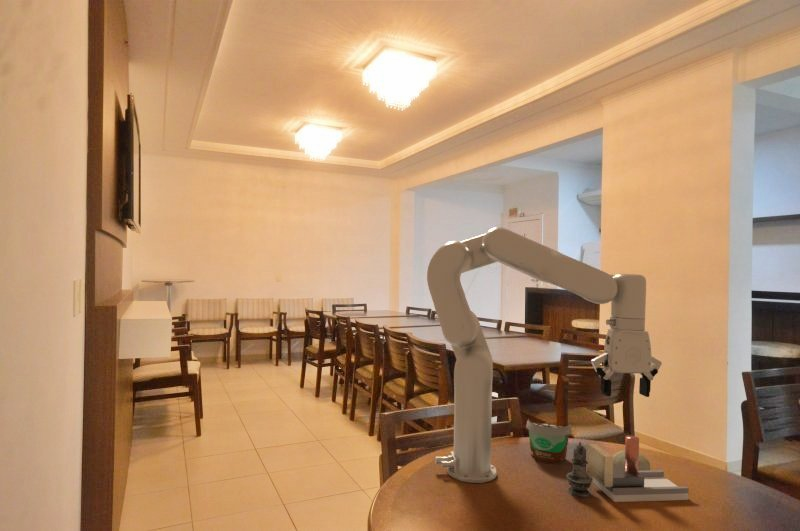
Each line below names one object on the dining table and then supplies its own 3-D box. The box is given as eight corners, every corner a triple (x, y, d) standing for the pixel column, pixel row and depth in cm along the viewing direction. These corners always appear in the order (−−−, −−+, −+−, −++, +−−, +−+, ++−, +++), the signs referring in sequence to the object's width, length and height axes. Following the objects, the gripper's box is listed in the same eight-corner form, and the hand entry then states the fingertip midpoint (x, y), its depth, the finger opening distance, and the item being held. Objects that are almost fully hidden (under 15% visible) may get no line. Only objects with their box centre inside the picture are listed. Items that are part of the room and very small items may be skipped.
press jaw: (604, 492, 111) (605, 444, 111) (587, 477, 119) (588, 432, 119) (647, 491, 112) (648, 443, 112) (627, 476, 120) (628, 431, 120)
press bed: (614, 501, 111) (614, 490, 111) (592, 482, 120) (593, 471, 120) (688, 499, 112) (688, 488, 112) (661, 480, 122) (661, 470, 122)
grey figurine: (591, 489, 117) (592, 439, 117) (593, 500, 111) (594, 447, 111) (566, 485, 119) (566, 436, 119) (565, 495, 113) (566, 444, 113)
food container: (522, 460, 133) (523, 424, 133) (525, 453, 139) (526, 418, 139) (570, 468, 129) (570, 431, 129) (571, 460, 134) (572, 424, 134)
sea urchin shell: (660, 470, 124) (638, 448, 124) (638, 492, 124) (616, 469, 124) (642, 456, 133) (622, 435, 133) (622, 476, 133) (601, 455, 133)
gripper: (601, 325, 113) (598, 399, 113) (671, 327, 115) (668, 400, 115) (586, 322, 121) (583, 390, 121) (652, 323, 122) (649, 391, 122)
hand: (625, 395), depth 118 cm, fingers open, 9 cm apart
